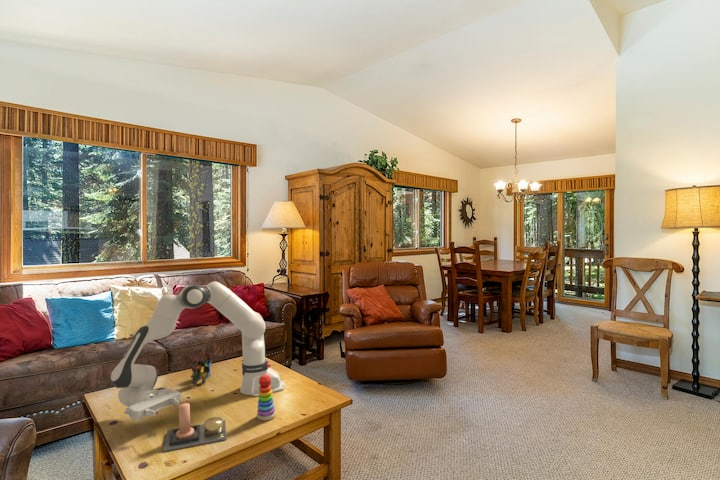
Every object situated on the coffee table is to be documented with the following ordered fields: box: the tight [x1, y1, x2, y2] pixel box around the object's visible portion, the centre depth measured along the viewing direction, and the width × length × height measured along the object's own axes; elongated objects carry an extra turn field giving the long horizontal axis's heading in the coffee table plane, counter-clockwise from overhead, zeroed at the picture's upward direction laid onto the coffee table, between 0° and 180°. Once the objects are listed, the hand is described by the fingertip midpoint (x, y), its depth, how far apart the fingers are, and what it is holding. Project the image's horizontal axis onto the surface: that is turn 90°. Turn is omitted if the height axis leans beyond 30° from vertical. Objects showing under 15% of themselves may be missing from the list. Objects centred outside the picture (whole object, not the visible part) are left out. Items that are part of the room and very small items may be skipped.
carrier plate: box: [162, 416, 227, 452], centre depth 154 cm, size 22×14×5 cm, turn 111°
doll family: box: [190, 352, 213, 389], centre depth 210 cm, size 23×9×13 cm, turn 14°
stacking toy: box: [256, 375, 276, 421], centre depth 169 cm, size 8×8×19 cm
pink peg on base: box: [176, 402, 194, 439], centre depth 152 cm, size 6×6×12 cm
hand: (167, 408), depth 157 cm, fingers open, 8 cm apart
